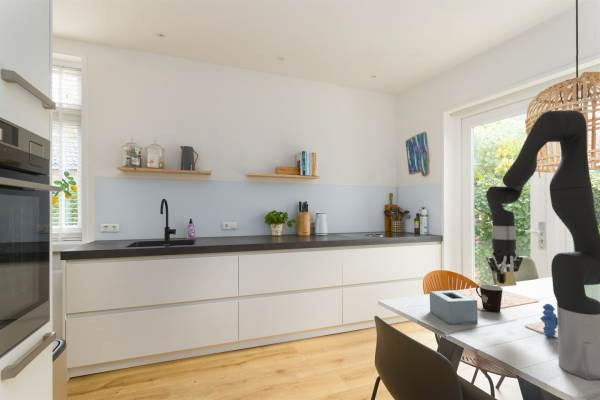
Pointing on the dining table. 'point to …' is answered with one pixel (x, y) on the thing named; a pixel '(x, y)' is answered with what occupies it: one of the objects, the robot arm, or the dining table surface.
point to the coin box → (453, 307)
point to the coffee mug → (490, 297)
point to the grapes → (549, 320)
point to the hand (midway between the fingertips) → (505, 282)
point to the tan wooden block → (507, 279)
